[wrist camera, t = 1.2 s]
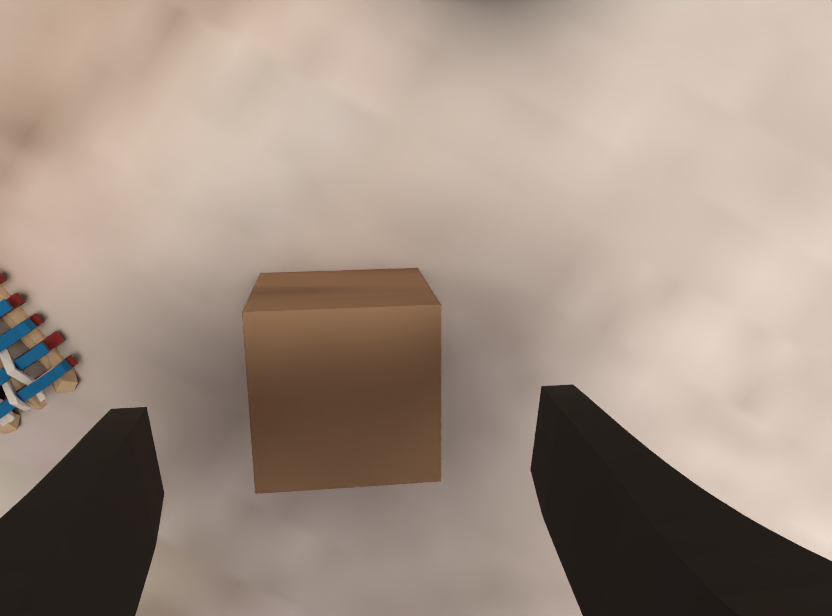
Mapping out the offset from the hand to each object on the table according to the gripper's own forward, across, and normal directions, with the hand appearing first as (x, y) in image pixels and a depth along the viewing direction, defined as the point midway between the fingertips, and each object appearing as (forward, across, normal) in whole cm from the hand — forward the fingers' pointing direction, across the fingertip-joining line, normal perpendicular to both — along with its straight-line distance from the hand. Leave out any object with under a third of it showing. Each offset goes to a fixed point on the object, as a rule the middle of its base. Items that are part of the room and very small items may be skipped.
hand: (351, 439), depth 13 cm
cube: (+10, 0, +4) cm, 10 cm away
